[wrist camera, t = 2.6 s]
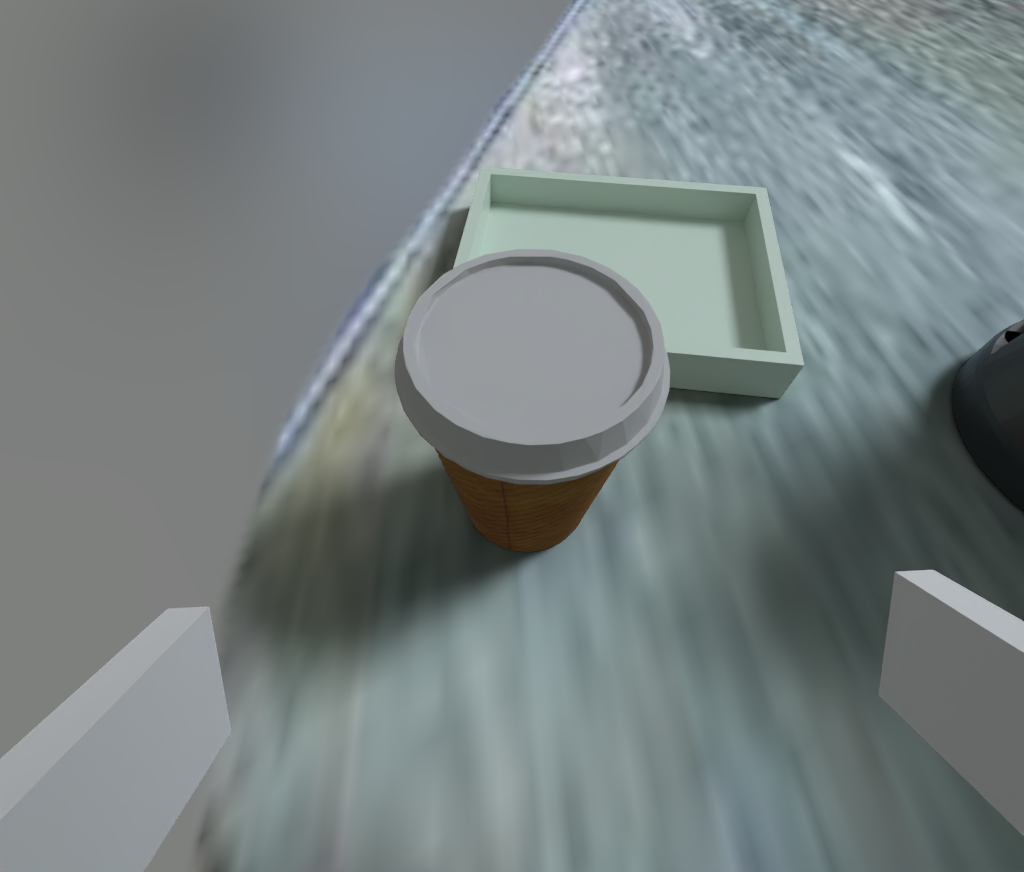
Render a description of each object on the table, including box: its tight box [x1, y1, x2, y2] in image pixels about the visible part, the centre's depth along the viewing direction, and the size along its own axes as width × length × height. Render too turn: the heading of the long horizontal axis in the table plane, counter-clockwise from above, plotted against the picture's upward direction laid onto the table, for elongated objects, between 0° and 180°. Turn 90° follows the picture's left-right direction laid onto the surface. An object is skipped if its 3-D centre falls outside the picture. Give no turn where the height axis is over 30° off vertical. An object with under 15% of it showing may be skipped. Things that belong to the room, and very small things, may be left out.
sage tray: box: [453, 167, 804, 399], centre depth 34 cm, size 20×16×3 cm
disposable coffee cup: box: [395, 249, 670, 552], centre depth 23 cm, size 10×10×12 cm
